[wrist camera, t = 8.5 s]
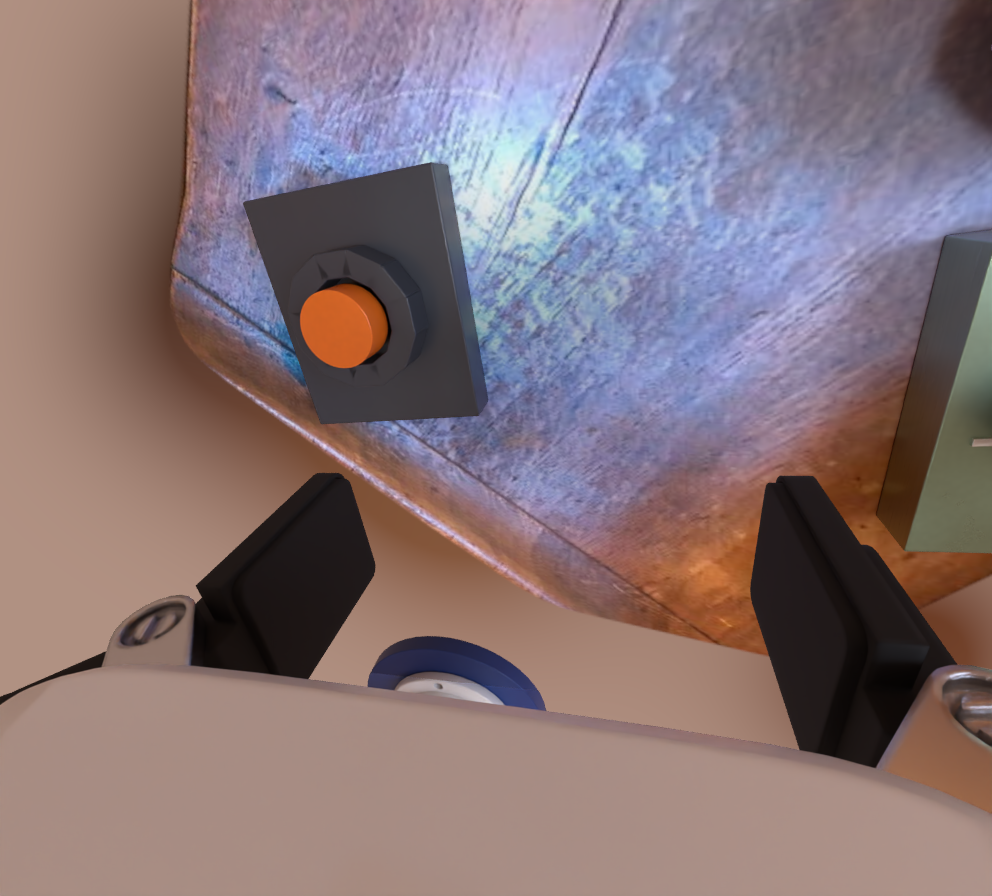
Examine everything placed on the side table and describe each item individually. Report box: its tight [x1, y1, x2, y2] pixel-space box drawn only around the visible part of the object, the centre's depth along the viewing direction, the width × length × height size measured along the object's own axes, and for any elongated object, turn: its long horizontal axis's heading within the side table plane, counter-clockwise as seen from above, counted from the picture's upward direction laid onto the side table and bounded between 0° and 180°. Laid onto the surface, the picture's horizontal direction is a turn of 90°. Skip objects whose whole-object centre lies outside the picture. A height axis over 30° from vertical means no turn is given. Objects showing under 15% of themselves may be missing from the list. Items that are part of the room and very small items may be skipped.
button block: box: [243, 162, 488, 424], centre depth 25 cm, size 12×10×4 cm
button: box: [300, 283, 388, 368], centre depth 22 cm, size 4×4×2 cm
